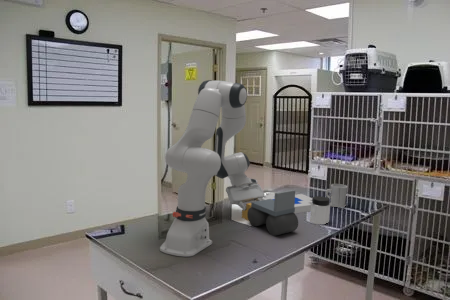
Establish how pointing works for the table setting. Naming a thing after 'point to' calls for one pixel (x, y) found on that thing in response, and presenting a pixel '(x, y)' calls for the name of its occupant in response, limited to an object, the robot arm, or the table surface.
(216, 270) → the table surface
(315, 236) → the table surface
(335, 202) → the cup
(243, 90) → the robot arm
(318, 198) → the jar
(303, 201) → the stepped white slab
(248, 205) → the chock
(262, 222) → the trolley
